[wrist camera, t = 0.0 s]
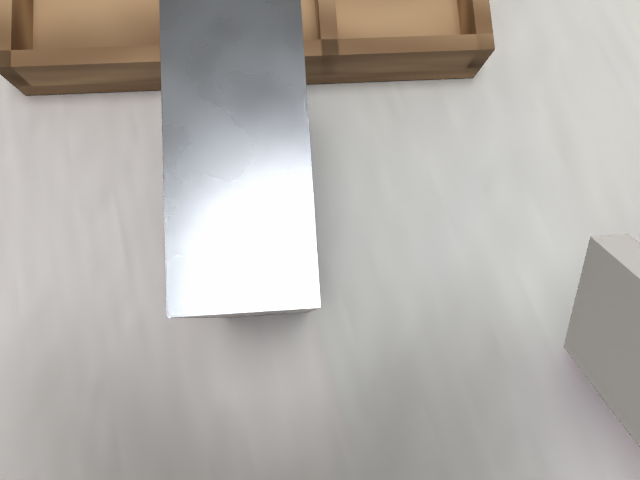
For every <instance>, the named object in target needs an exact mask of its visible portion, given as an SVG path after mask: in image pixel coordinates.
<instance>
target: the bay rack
mask: <svg viewBox="0 0 640 480" xmlns="http://www.w3.org/2000/svg"><path fill="white" fill-rule="evenodd" d="M301 11H302V27H303V42H304V57H305V73H306V84H328V83H353V82H378V81H404V80H429V79H454V78H474V76H475V75H476V74H477V72H478V71H479V70H480V68H481V67H482V66H483V64H484V63H485V62H486V60H487V59H488V58H489V56H490V55H491V54H492V52H493V51H494V50H495V46H494V38H493V30H492V21H491V13H490V5H489V0H301ZM0 75H2V76H3V77H4V78H5V79H6V80H8V81H9V82H10V83H11V84H12V85H14V86H15V87H16V88H17V89H19V90H20V91H21V92H22V93H23V94H25V95H51V94H76V93H101V92H126V91H151V90H161V53H160V11H159V0H0Z"/></svg>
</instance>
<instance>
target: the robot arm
mask: <svg viewBox="0 0 640 480" xmlns="http://www.w3.org/2000/svg"><path fill="white" fill-rule="evenodd" d="M564 348H565V350H566V351H567V352H568V353H569V355H570V356H571V357H572V359H573V360H574V361H575V363H576V364H577V365H578V367H579V368H580V369H581V371H582V372H583V373H584V375H585V376H586V377H587V378H588V380H589V381H590V382H591V384H592V385H593V386H594V388H595V389H596V390H597V392H598V393H599V394H600V396H601V397H602V398H603V400H604V401H605V402H606V403H607V405H608V406H609V407H610V409H611V410H612V411H613V413H614V414H615V415H616V417H617V418H618V419H619V421H620V422H621V423H622V425H623V426H624V427H625V428H626V430H627V431H628V432H629V434H630V435H631V436H632V438H633V439H634V440H635V442H636V443H637V444H638V446H639V447H640V243H638V242H637V241H636V240H635V239H633V238H632V237H631V236H629V235H628V234H625V235H608V236H592V237H590V240H589V245H588V249H587V253H586V257H585V261H584V265H583V269H582V273H581V277H580V282H579V286H578V290H577V294H576V298H575V302H574V306H573V310H572V315H571V319H570V323H569V327H568V331H567V335H566V339H565V343H564Z"/></svg>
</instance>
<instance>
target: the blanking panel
mask: <svg viewBox="0 0 640 480" xmlns="http://www.w3.org/2000/svg"><path fill="white" fill-rule="evenodd" d="M159 11H160V53H161V94H162V136H163V178H164V220H165V262H166V303H167V318H227V317H242V316H257V315H273V314H288V313H303V312H310V311H313V310H316V309H319V308H321V303H320V288H319V273H318V257H317V242H316V227H315V211H314V196H313V180H312V165H311V150H310V134H309V119H308V103H307V88H306V73H305V57H304V42H303V27H302V11H301V0H159Z"/></svg>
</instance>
